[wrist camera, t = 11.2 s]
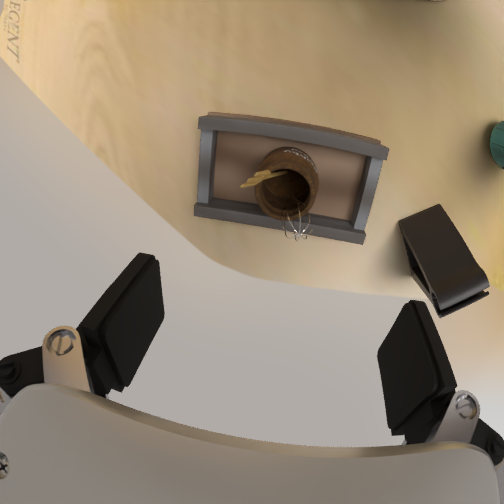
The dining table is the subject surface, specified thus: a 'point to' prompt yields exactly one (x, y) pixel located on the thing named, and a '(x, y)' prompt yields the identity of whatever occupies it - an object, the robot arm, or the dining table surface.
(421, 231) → the phone stand
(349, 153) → the gray framed rectangular tray
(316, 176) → the utensil holder
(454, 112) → the dining table surface
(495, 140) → the beverage bottle
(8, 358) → the robot arm
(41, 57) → the dining table surface
